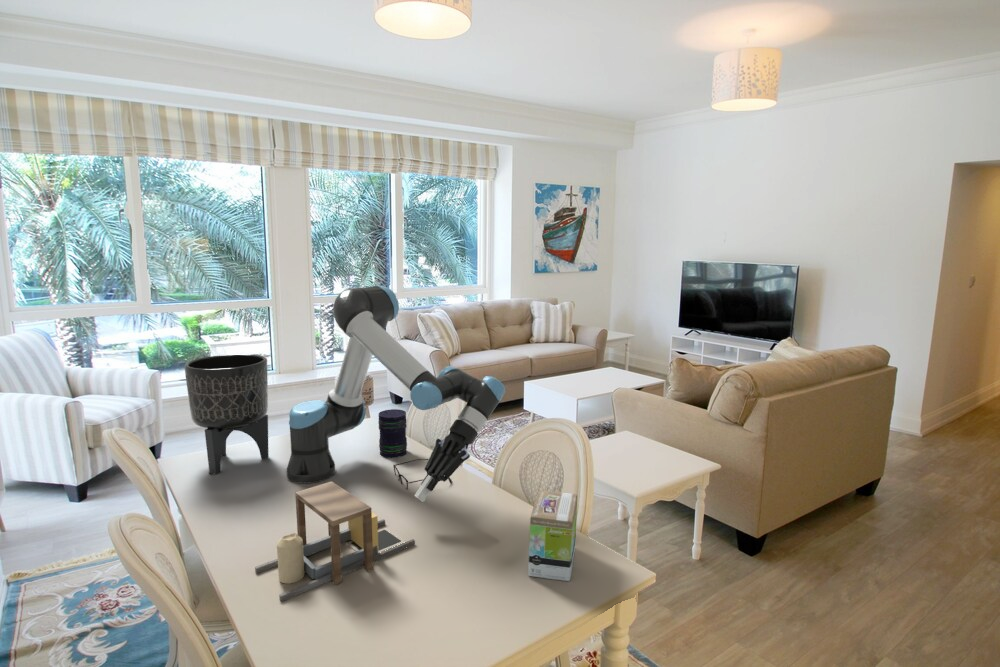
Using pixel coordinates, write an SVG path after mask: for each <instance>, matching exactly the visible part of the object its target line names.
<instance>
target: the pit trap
mask: <svg viewBox="0 0 1000 667" xmlns="http://www.w3.org/2000/svg"><path fill="white" fill-rule="evenodd" d="M385 529H386V530H385ZM388 531H389V532H390V533H389V532H388ZM391 531H392V530H390V529H388V528H387V527H384V528H381V529H378V551H379V553H380V552H383V551H385V550H387V549H390V547H391V548H392V547H394V546H397V545H398V544H399V543H400V542H401V541H402V542H404V541H406V540H405V539H403V538H402V537H401V536H399V535H397V534H396V533H395V532H393V531H392V533H393V534H392V533H391ZM396 536H397V537H396ZM402 542H401V543H402ZM397 543H398V544H397ZM401 543H400V544H401ZM345 544H346V545H347V546H349V547H350V548H351V549H352V550H353V551H354V552H356V551H358V550H361V549H362V548H361V547H360V546H359V545H357V544H356V543H355V542H354V541H352V540H349V541H348V542H347V541H346V543H345ZM396 544H397V545H396Z"/></svg>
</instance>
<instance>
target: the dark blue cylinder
mask: <svg viewBox="0 0 1000 667" xmlns="http://www.w3.org/2000/svg"><path fill="white" fill-rule="evenodd" d="M407 427H408V426H407V412H406V411H405V410H403V409H397V408H393V409H385V410H382V411H380V412H378V430H379V438H378V439H379V440H378V443H379V444H378V448H379V456H380V455H381V456H380V457H381V458H384V457H385V458H386V459H397V458H402V457H404V456H406V455H407V453H408V450H407V449H408V448H407V447H408V440H407V439H408V438H407V432H406V429H407Z"/></svg>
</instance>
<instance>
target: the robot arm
mask: <svg viewBox="0 0 1000 667" xmlns="http://www.w3.org/2000/svg"><path fill="white" fill-rule="evenodd" d="M398 300H399V299H397V296H396V294H395V292H394V290H392V289H391V288H389V287H388V286H384V285H372V286H366V287H365V286H364V287H351V288H350V287H349V288H348V289H344V290H343V291H342V292H340V293H339V294H338V295H337V297H336V298H335V299H334V302H333V305H332V306H333V307H332V313H333V317H334V321H335V322H336V325H338V327H339V328H340V330H341V331H342V332H343V333H344V334H345V335H347V336H348V337H349V339H348V343H347V346H346V350H345V354H344V357H343V360H342V363H341V367H340V369H339V370H340V371H339V374H338V376H337V380H336V384H335V387H333V388H331V389H330V390H329V391H328V395H327V399H326V401H324V400H318V399H314V400H313V399H312V400H310V401H309V400H308V401H303V402H300V403H298V404H295V405H294V407H292V408H291V409H290V412H289V421H288V425H289V435H290V452H291V453H290V457H289V460H288V464H287V468H286V479H287V480H288V481H289V482H292V483H297V484H298V483H299V484H312V483H317V482H323V481H325V480H328V479H330V478H331V477H333V476H334V475H335V473H336V464H335V461H334V459H333V457H332V456H333V455H332V454H331V451H330V446H329V445H330V444H329V438H332V437H334V436H337V435H339V434H342V433H343V434H344V433H345V432H348V431H351V430H354V429H355V428H356V427H359V426H361V424H362V423H363V422H364V421H365V418H366V414H367V408H366V403H365V401H364V397H363V396H362V394H361V392H362V389H363V387H364V383H365V381H366V378H367V374H368V372H369V371H368V370H369V368H370V366H371V365H370V364H371V362H372V358H373V356H374V358H375V359H376V360H377V361H378V362H379V363H381V364H382V365H383V366H384V367H385V368H386V369H387V370H388V371H389V372H390V373H391V374H392V375H393V376H394V377H395V378H396V379H397V380H398V381H400V383H402V385H404V386H405V387H406V388H407V389H408V390H409V391H410V396H409V397H410V400H411V402H412V405H413V406H414V407H415V408H417V409H418V410H421V411H427V410H431V409H436V408H437V407H439V406H441V405H444V404H446V403H448V402H451V401H454V400H456V399H459V400H461V401H462V402H465V403H466V404H465V405H464V406H463V407H462V408H463V409H462V410H461V411H460V412H459V414H458V416H457V419H454V422H453V423H452V425H451V426H449V433H448V434H447V435H446V436H445V437H444V438H443V439H440V438H437V439H436V440H435V445H434V448H433V450H432V452H431V454H430V455H429V458H428V460H427V462H426V465H425V466H424V470H425V472H426V476H425V477H424V478H423V479H424V480H423V479H422V481H421V483H420V486H419V488H418V489H417V491H416V492H415V494H414V497H415V498H416V499H418V500H419V501H421V502H422V503H424V502H425V501H426V500H427V498H428V495H429V494H431V492H433V490H434V489H435V487H436V486H437V484H439V482H443V483H444V482H447V480H448V478H450V477H451V476H452V475H453V474H454V473H455V471H457V470H458V468H459V467H460V466H461V465H463V463H464V462H465V461H467V460H468V459H469V458H470V457H471V454H469V452H468V451H467V450H468V447H469V445H472V444H473V443H474V442H475V439H476V438H477V436H478V435H479V434H478V433H480V432H481V430H482V429H483V428H484V426H485V424H486V423H487V421H488V420H489V418H490V416H491V415H492V414H493V412H494V411H495V409H496V408H497V406H498V405H499V403H501V400H502V398H503V396H504V395H505V393H506V386H505V385H504V384H503V383H502V382H501V381H500V380H499V379H497V378H496V377H494V376H491V375H486V376H484V377H483V378H482V379H479V378H477V377H475V376H474V375H473V376H472V375H470V374H469V373H467V372H465V371H463V370H461V369H460V368H458V367H454V366H451V365H448V366H445V367H444V368H443V369H442V370H441V371H439V374H438V376H437V377H436V376H435V375H434V374H433V373H432V372H430V371H429V370H428V369H427V368H426V367H425V365H423V364H422V363H420V361H419V360H418V359H417V358H415V357H414V356H413V355H412V354H411V353H410V352H409V351H408V350H407V349H406V348H405V347H404V346H403V345H401V344H400V343H399V342H398V341H397V340H396V339H395V338H394V337H393V336H392V335H391V334H389V332H388V331H386V329H387V327H388V326H387V325H388V324H389V322H392V321H393V320H394V319H396V318H397V316H398V314H399V311H400V310H399V309H400V306H399V305H400V304H399V301H398Z"/></svg>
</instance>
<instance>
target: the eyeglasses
mask: <svg viewBox="0 0 1000 667" xmlns="http://www.w3.org/2000/svg"><path fill="white" fill-rule="evenodd" d="M419 460H422V458H418V459H414V460H409V461H404V462H400V463H397V464H396V463H395V464H393V465H392V467H393V471H394V472H393V473H394V476H395V475H396V476H398V481H400V484H401V485H402V484H403V479H404V480H405V482H406V488H405V490H406V489H407V490H408V489H409V484H413V483H416V482H422V481H423V480H424V478H423V479H418V480H413V481H408V479H407V478H406V477H405V476H404V475H402V474H400V472H399V469H398V468H397V466H399V465H403V464H407V463H410V462H415V461H419ZM423 460H425V461H428V460H429V458H423ZM397 474H398V475H397ZM447 480H448V481H449V483H452V482H453V481H452V479H451V478H450V477H449V478H448V479H447ZM451 481H452V482H451Z"/></svg>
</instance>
